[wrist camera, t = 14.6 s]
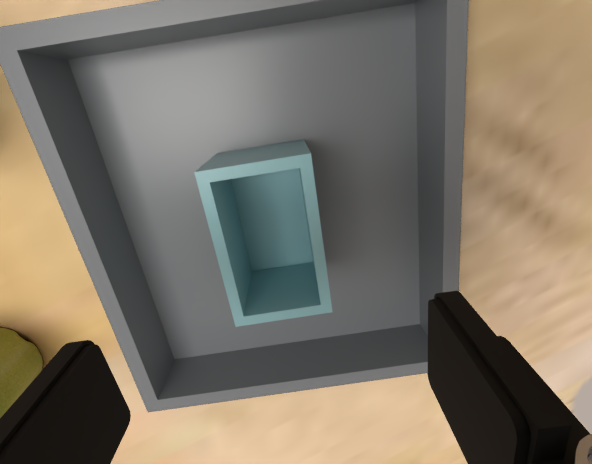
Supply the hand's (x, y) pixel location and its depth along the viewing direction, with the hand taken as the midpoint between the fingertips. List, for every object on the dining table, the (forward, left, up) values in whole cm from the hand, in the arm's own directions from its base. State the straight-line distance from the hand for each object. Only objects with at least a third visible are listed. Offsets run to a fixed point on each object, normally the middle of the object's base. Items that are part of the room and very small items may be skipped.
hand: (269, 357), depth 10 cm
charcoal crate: (0, 0, -16) cm, 16 cm away
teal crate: (0, 0, -15) cm, 15 cm away
